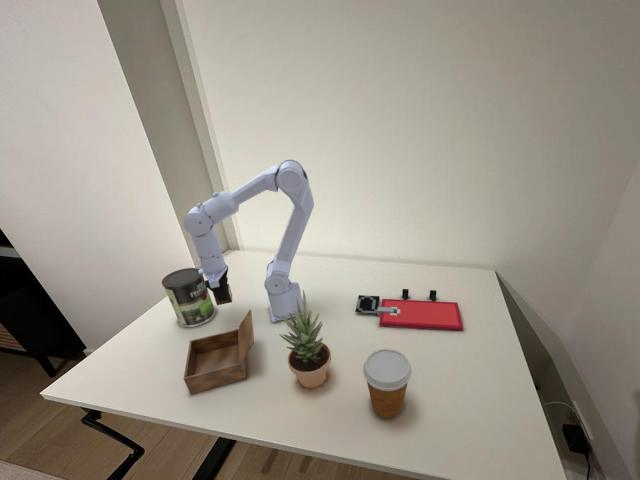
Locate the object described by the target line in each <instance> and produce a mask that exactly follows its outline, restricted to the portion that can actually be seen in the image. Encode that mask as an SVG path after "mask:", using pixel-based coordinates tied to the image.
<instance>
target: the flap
mask: <svg viewBox="0 0 640 480" xmlns="http://www.w3.org/2000/svg"><path fill="white" fill-rule="evenodd" d="M253 323H254V322H253V311H252V309H249V310H248V312H247V313H246V314H245V316H244V318H243V319H242V321H241V322H240V324H239V325H238V329H239V346H240V361H241V362H242V360H243V359H244V357H245V358H246V356H247V354H248V353H249V351H250V349H252V347H253V346H254V344H255V334H254V324H253Z"/></svg>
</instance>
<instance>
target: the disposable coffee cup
mask: <svg viewBox="0 0 640 480" xmlns="http://www.w3.org/2000/svg"><path fill="white" fill-rule="evenodd" d="M412 373H413V368H412V365H411V363H410V361H409V359H408V357H407V356H406V354H404V353H403V352H401V351H399V350H396V349H393V348H380V349H377V350H374V351H373V352H372V353H370V354H369V355H368V356H367V357H366V359H365V361H364V363H363V365H362V374H363V378H364V379H365V381H366V384H367V389H368V393H369V397H370V401H371V406H372V410H373V411H374V413H375V414H376V415H378V416H379V417H381V418H384V419H390V418H394V417H396V416H398V415H399V414H400V413H401V411H402V409H403V405H404V400H405V396H406V393H407V388H408V383H409V382H410V379H411V378H412Z"/></svg>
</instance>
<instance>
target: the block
mask: <svg viewBox="0 0 640 480" xmlns="http://www.w3.org/2000/svg"><path fill="white" fill-rule="evenodd" d="M226 289H227V300H226V301H222V302H219V300H218V299H217V298H216V296H215V295H214V293H213V292H212V295H213V298H214V302H215V304H216V306H221V305H227V304H230V303H233V293H232V288H231V286H230V284H229V283H227V286H226Z"/></svg>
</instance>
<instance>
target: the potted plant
mask: <svg viewBox="0 0 640 480" xmlns="http://www.w3.org/2000/svg"><path fill="white" fill-rule="evenodd" d="M302 300H303V308H304V315H302V312H301V308H300V305H299V302H298V299H297V309H298V315H297V313H296V311H295V310H294V315H295V317H292V315H291V314H290V313H289V315H290V317H291V318H290V320H291V321H290V320H288V319H286V318H285V317H284V316H283V318H284V320H283V321H284V322H285V324H286V325H287V327H288V328H289V329H290V330H291V331H292V332H293V333H294V334H293V333H292V332H290V331H288V332H287V333H288V334H284V333H283V335H282V334H280V333H279V336H280V338H282V339H283V340H284V341H285V342H286V343H288V344H290V345H291V346H293V347H291V346H286V348H287V349H288V350H290V351H289V353H288V355H287V365H288V368H289V370H290V371H291V373H292V374H294V375H295V376H296V378H297V380H298V381H299V383H300V384H301V386H303V387H304V388H308V389H313V388H314V389H315V388H317V387H319V386H321V385H322V384H323V383H324V382H325V380H326V377H327V371H328V368H329V366H330V364H331V362H332V352H331V349H330V347H329V346H328V345H327V344H326V343H324V342H322V341H323V340H324V337H321V338H319V339H318V340H317V338H318V335H319V333H320V331H321V329H322V327H323V322H322V321H323V320H320V321H319V322H318V319H319V318H320V312H318V313H317V315H316V316H315V318H314V320H312V309H311V308H309V311H308V308H307V297H306V292H305V290H304V289H303V290H302ZM317 322H318V324H317ZM316 324H317V325H316Z"/></svg>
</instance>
